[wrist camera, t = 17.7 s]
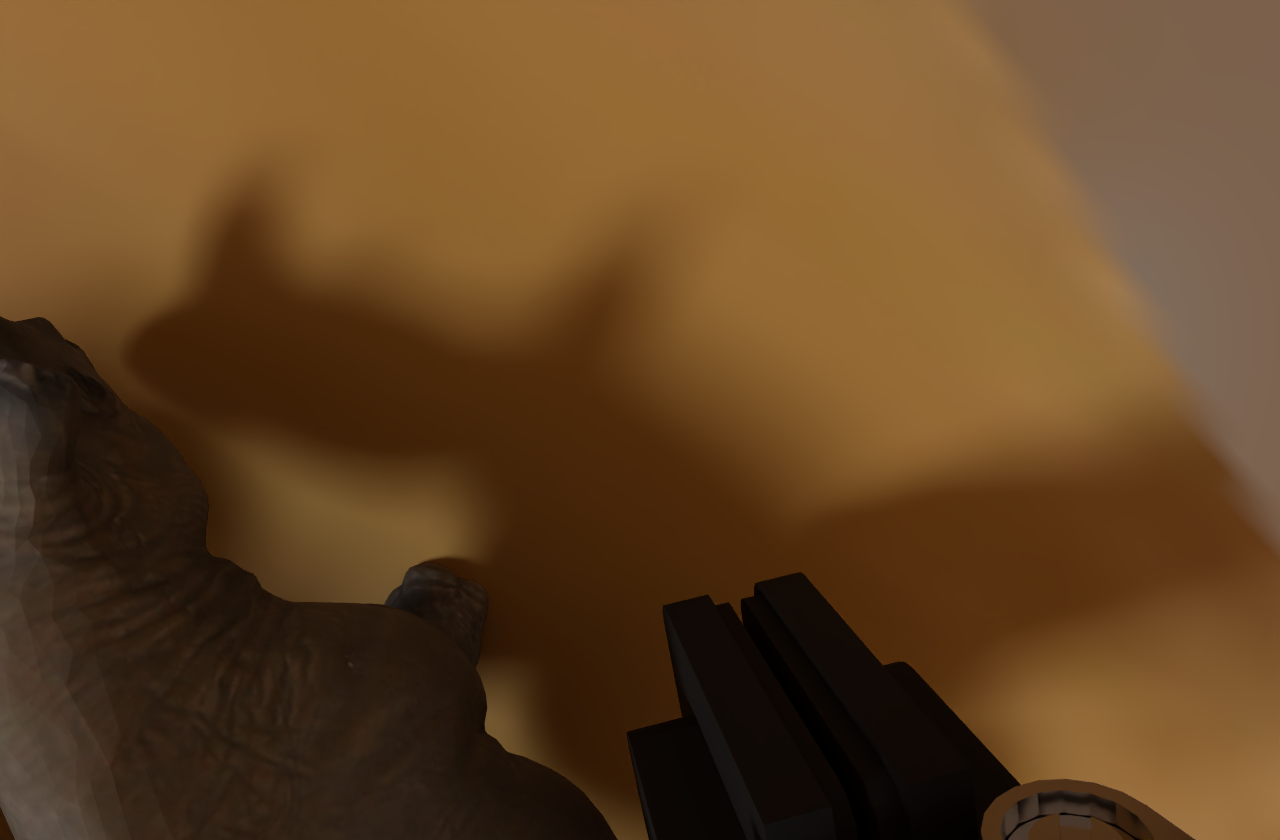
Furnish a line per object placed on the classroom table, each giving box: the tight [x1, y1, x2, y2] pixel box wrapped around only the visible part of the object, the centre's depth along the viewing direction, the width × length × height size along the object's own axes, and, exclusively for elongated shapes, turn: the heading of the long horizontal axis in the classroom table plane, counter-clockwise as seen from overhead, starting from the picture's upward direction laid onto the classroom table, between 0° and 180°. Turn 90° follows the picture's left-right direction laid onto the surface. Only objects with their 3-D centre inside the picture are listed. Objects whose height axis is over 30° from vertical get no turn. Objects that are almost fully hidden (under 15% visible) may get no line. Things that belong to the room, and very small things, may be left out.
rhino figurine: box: [0, 317, 617, 840], centre depth 9 cm, size 4×14×6 cm, turn 34°
